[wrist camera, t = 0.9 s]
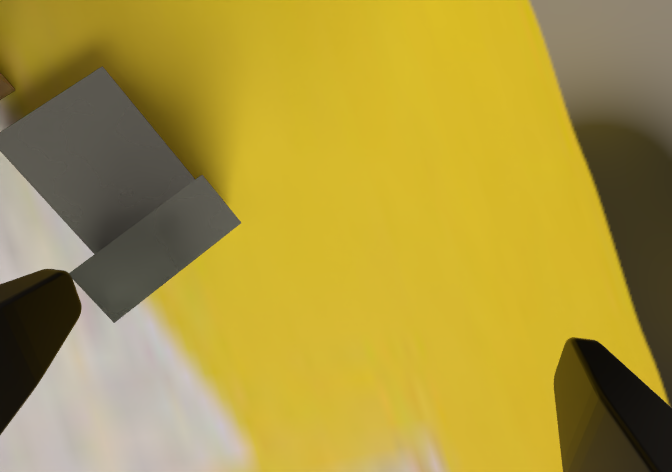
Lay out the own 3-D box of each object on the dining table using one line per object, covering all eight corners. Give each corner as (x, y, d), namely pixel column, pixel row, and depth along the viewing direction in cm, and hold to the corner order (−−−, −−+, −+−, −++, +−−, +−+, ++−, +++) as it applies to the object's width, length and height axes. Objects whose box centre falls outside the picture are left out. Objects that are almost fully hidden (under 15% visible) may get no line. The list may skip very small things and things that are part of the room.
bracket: (227, 222, 22) (241, 222, 15) (139, 290, 21) (114, 323, 14) (110, 80, 20) (70, 12, 14) (9, 147, 19) (-88, 108, 13)
